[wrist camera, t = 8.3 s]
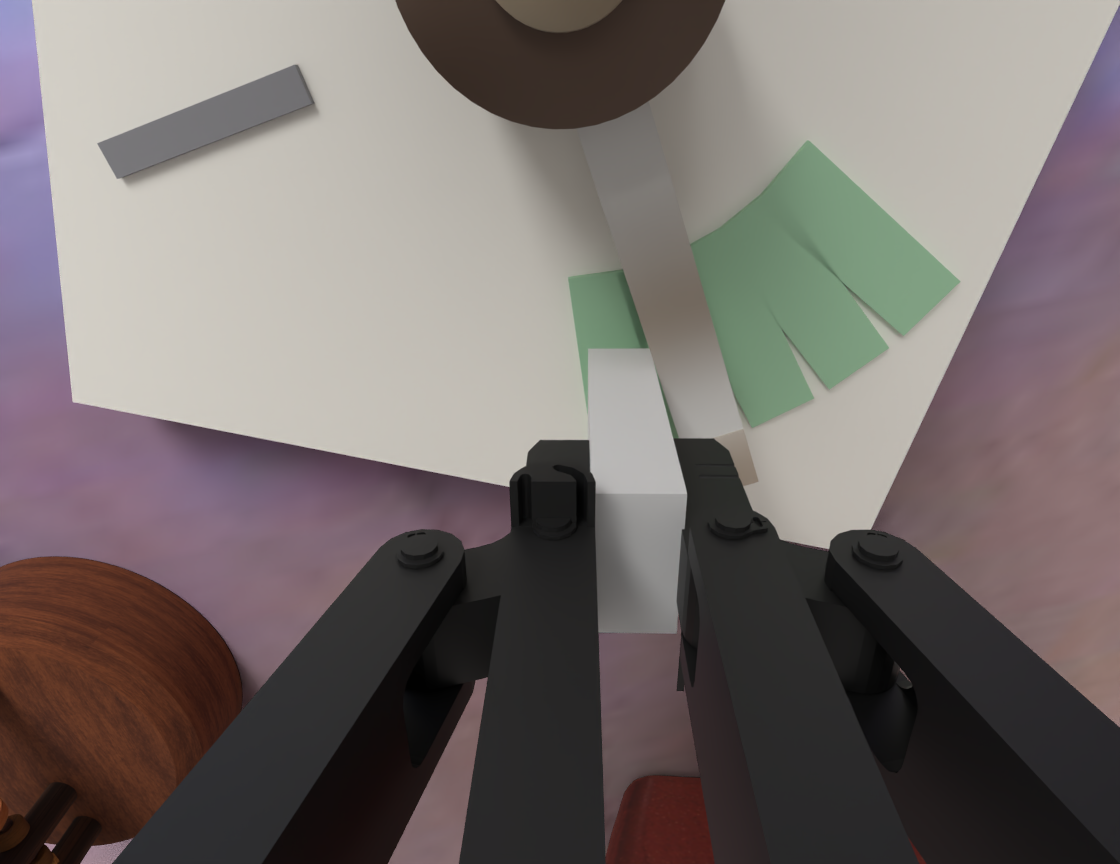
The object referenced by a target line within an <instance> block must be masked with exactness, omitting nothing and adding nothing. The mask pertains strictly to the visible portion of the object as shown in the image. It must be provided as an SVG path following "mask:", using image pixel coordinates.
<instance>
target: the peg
mask: <svg viewBox="0 0 1120 864" xmlns="http://www.w3.org/2000/svg"><path fill="white" fill-rule="evenodd" d="M395 1H396V4H397V7H398V9H399V11H400V13H401V16H402V18H403V20H404V22H405V24H406V26H407V28H408V30H409V32H410V34H411V35H412V37H413V39H414V40H415V42H416V44H417V45H418V47H419V48H420V50H421V52H422V53H423V54H424V56H425V57H426V58H427V59H428V61H429V62H430V63H431V64H432V66H433V67H434V68H435V70H436V71H437V72H438V73H439V74H440V75H441V76H442V77H443V78H444V79H445V80H446V81H447V82H448V83H449V84H450V85H451V86H452V87H453V88H454V89H456V90H457V91H458V92H460V93H461V94H462V95H463V96H465V97H466V98H467V99H469V100H470V101H471V102H473V103H474V104H476V105H478V106H480V107H481V108H483V109H485V110H486V111H488V112H490V113H492V114H494V115H497V116H499V117H501V118H504V119H506V120H509V121H511V122H515V123H519V124H523V125H526V126H530V127H537V128H545V129H576V130H577V133H578V136H579V139H580V142H581V145H582V148H583V151H584V154H585V157H586V160H587V163H588V166H589V169H590V172H591V175H592V178H593V181H594V184H595V187H596V190H597V193H598V196H599V199H600V202H601V205H602V208H603V211H604V214H605V217H606V220H607V223H608V226H609V229H610V232H611V235H612V238H613V241H614V244H615V247H616V250H617V253H618V256H619V259H620V262H621V265H622V268H623V271H624V274H625V277H626V280H627V283H628V286H629V289H630V292H631V295H632V298H633V301H634V304H635V307H636V310H637V313H638V316H639V319H640V322H641V325H642V328H643V331H644V334H645V337H646V340H647V343H648V346H649V349H650V352H651V355H652V358H653V361H654V364H655V367H656V370H657V373H658V376H659V379H660V382H661V385H662V388H663V391H664V394H665V397H666V400H667V403H668V406H669V409H670V412H671V415H672V418H673V421H674V424H675V427H676V430H677V433H678V436H679V438H714V439H715V440H716V441H718V442H719V443H720V444H721V445H723V446H724V447H725V448H726V449H728V450H729V452H730V454H731V457H732V459H733V462H734V467H736V469H737V472H738V474H739V478H740V480H741V482H742V485H743V486H746V485H749V484H753V483H756V482H759V481H758V478H757V474H756V471H755V467H754V464H753V460H752V457H751V453H750V450H749V446H748V443H747V439H746V436H745V433H744V429H743V426H742V423H741V419H740V416H739V412H738V409H737V405H736V402H735V398H734V395H733V391H732V388H731V385H730V381H729V378H728V374H727V371H726V367H725V364H724V360H723V357H722V353H721V350H720V346H719V343H718V340H717V336H716V333H715V329H714V326H713V322H712V319H711V315H710V312H709V308H708V305H707V301H706V298H705V294H704V291H703V288H702V284H701V281H700V277H699V274H698V270H697V267H696V263H695V260H694V256H693V253H692V249H691V246H690V243H689V239H688V236H687V232H686V229H685V225H684V222H683V218H682V215H681V211H680V208H679V204H678V201H677V197H676V194H675V191H674V187H673V184H672V180H671V177H670V173H669V170H668V166H667V163H666V159H665V156H664V152H663V149H662V146H661V142H660V139H659V135H658V132H657V128H656V125H655V121H654V118H653V114H652V111H651V107H650V104H649V101H650V100H651V99H653V98H654V97H656V96H657V95H658V94H659V93H660V92H661V91H663V90H664V89H665V88H666V87H667V86H669V85H670V84H671V83H672V82H673V81H674V80H675V79H676V78H677V77H678V76H679V75H680V74H681V73H682V71H683V70H684V69H685V68H686V67H687V66H688V65H689V64H690V63H691V61H692V60H693V58H694V57H695V56H696V54H697V53H698V51H699V50H700V49H701V47H702V46H703V44H704V43H705V41H706V39H707V38H708V36H709V34H710V32H711V30H712V29H713V27H714V25H715V23H716V21H717V19H718V17H719V15H720V12H721V10H722V7H723V5H724V3H725V0H395Z"/></svg>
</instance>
